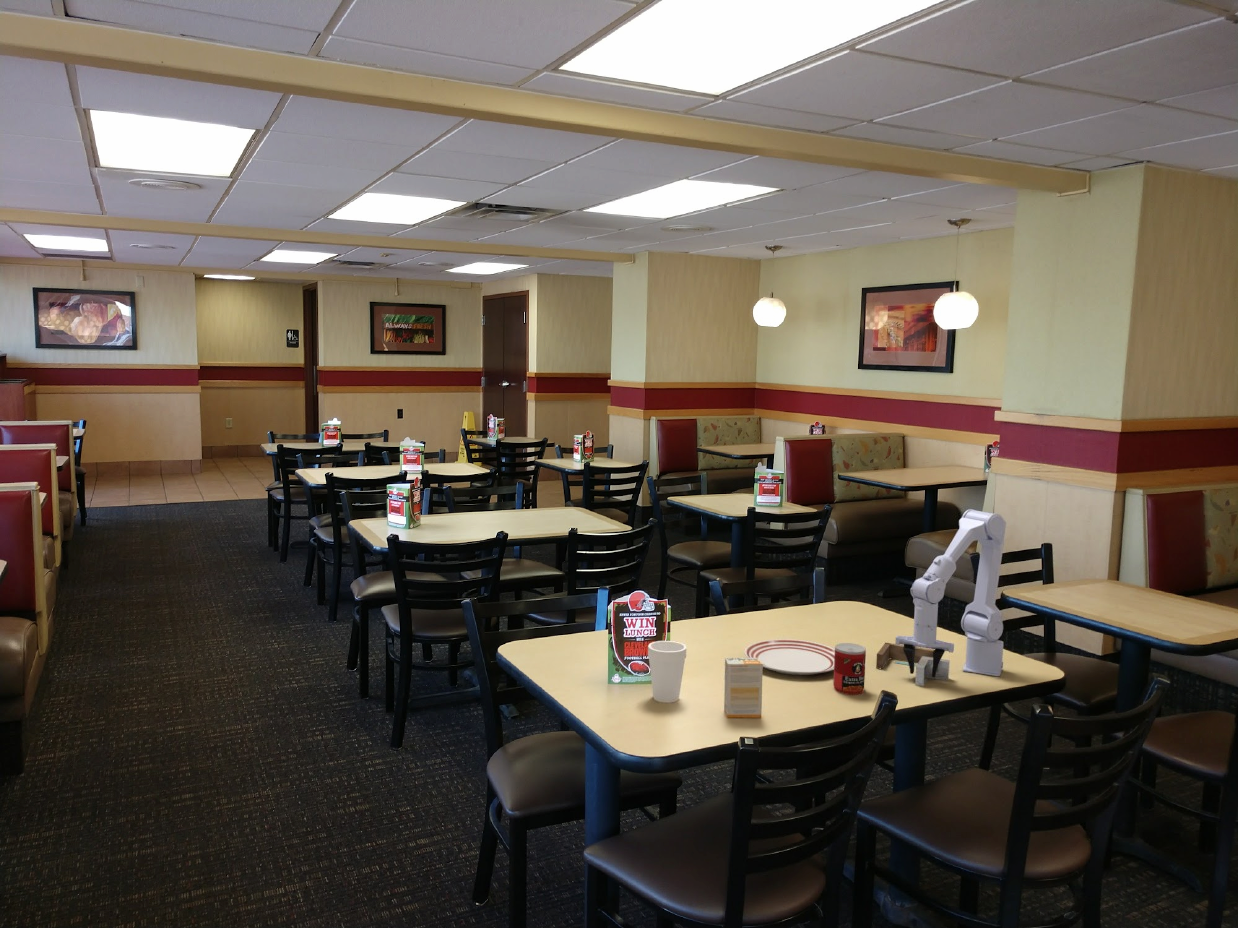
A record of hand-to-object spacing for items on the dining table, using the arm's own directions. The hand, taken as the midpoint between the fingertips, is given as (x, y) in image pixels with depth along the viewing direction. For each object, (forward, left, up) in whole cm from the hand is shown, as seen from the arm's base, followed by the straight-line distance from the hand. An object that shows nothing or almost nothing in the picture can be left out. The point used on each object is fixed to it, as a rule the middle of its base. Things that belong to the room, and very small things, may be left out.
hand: (922, 674), depth 236 cm
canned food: (+16, +18, -2) cm, 23 cm away
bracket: (-2, +1, -1) cm, 3 cm away
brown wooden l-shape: (+5, -10, -1) cm, 11 cm away
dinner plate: (+34, +4, -2) cm, 34 cm away
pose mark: (+4, -9, -1) cm, 10 cm away
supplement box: (+34, +48, -2) cm, 58 cm away
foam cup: (+54, +46, -2) cm, 71 cm away
